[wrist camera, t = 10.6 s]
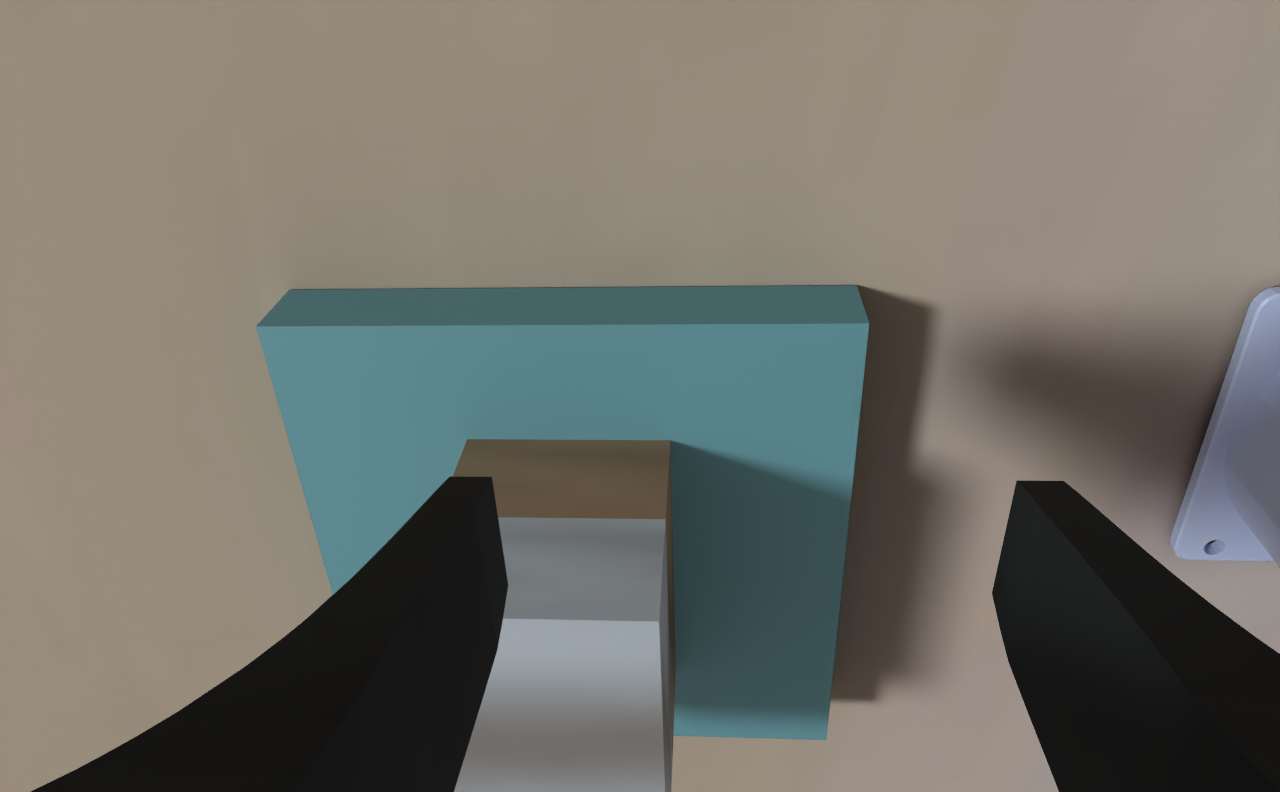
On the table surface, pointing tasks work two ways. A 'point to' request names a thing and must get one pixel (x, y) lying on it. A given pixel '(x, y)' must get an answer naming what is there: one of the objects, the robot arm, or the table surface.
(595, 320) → the teal stand
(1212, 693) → the robot arm
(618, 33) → the table surface
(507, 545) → the block
